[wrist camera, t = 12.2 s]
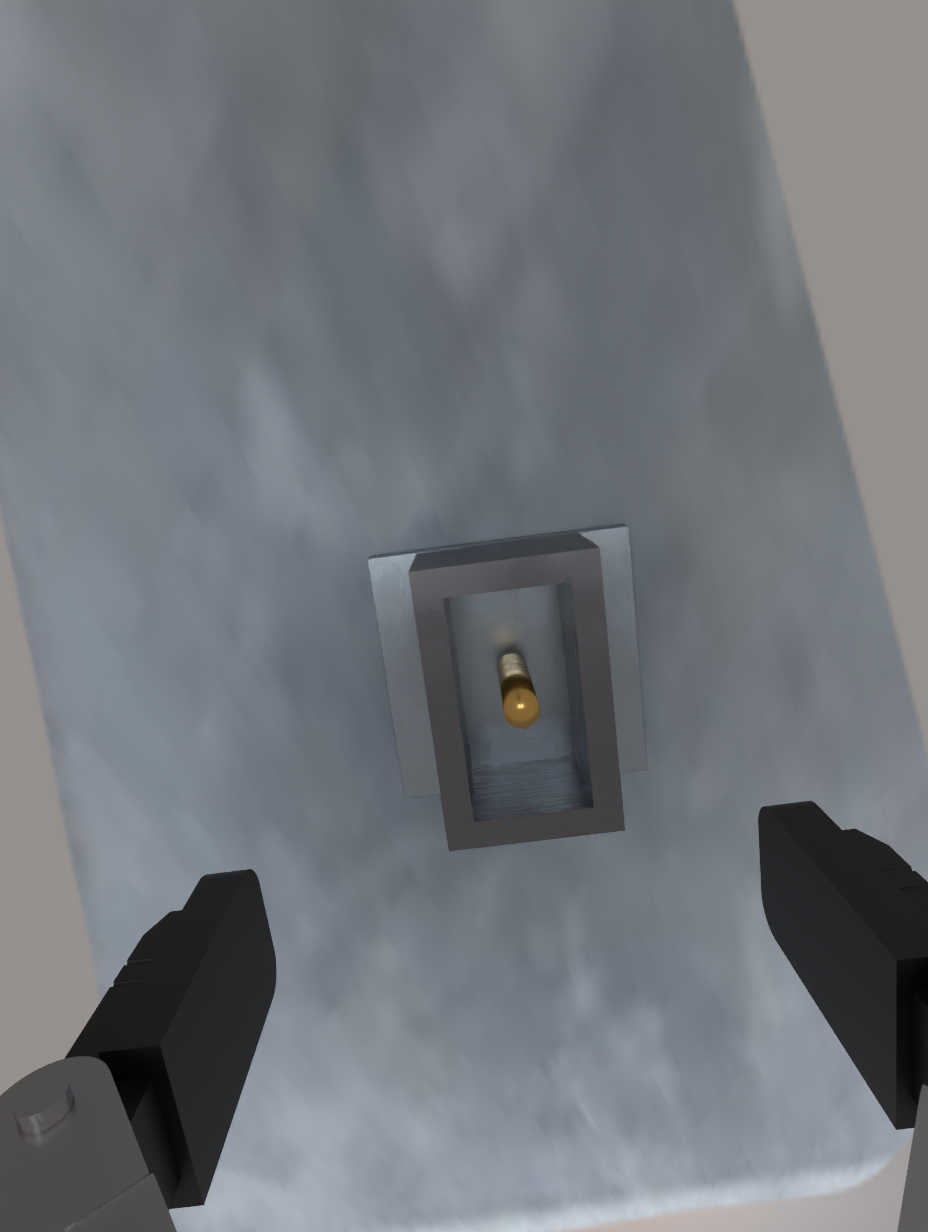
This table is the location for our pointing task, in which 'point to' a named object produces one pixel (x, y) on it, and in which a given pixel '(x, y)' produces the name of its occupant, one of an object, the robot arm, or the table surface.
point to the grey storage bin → (590, 780)
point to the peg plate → (507, 665)
